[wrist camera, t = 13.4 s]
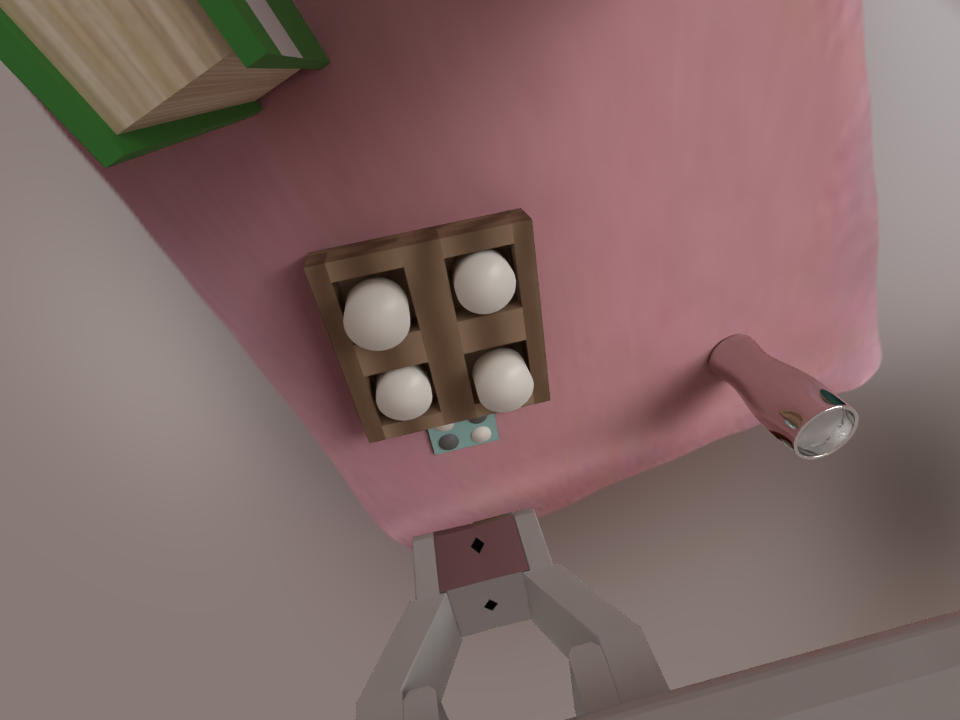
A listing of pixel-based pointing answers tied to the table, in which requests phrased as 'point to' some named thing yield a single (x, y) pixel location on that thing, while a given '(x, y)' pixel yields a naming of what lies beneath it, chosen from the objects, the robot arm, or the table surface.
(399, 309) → the button
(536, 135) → the table surface
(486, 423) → the card
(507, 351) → the button
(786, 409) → the beer glass
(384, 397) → the button
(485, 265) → the button
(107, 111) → the hardback book
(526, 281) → the wooden compartment tray
